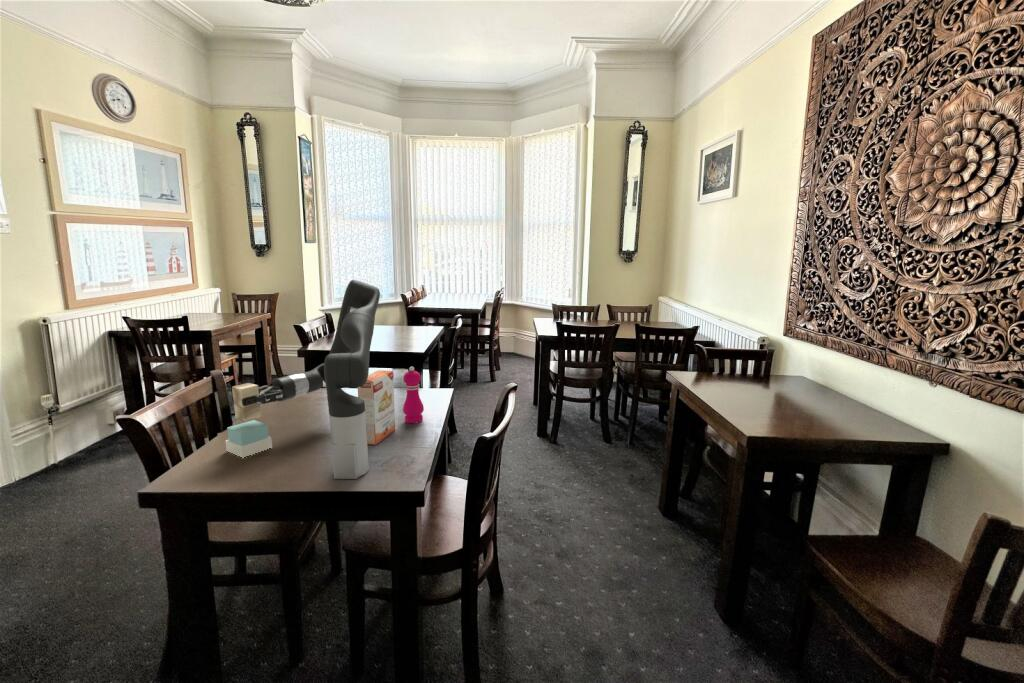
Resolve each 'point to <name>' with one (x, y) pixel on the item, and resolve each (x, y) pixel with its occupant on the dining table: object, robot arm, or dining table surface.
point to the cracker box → (378, 405)
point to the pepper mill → (412, 397)
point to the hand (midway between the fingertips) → (237, 401)
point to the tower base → (248, 447)
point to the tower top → (247, 432)
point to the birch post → (250, 410)
